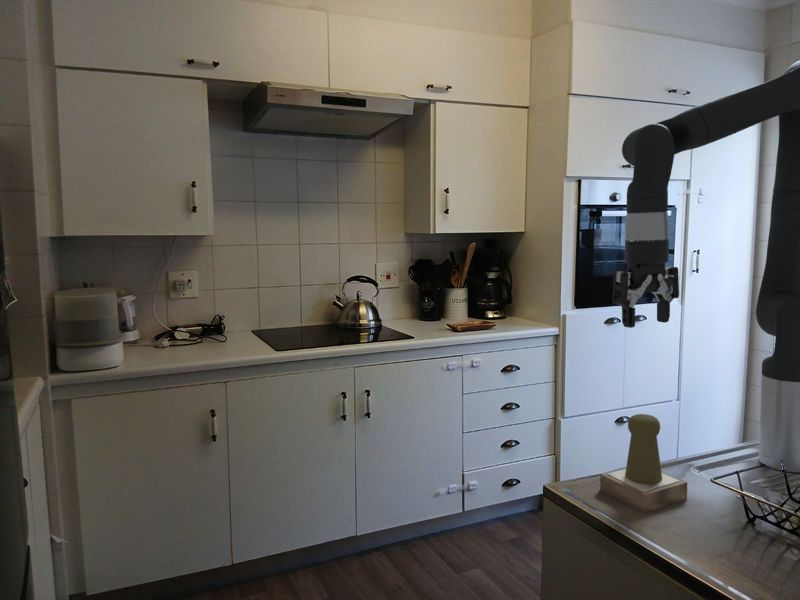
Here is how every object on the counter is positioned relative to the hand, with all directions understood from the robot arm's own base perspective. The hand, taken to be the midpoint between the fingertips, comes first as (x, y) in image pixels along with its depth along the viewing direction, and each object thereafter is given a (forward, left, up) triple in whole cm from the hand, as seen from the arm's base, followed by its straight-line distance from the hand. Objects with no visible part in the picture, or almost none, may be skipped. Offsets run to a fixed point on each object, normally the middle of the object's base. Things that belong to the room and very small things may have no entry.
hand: (646, 324), depth 115 cm
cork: (+9, +8, -25) cm, 28 cm away
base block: (+9, +8, -28) cm, 31 cm away
